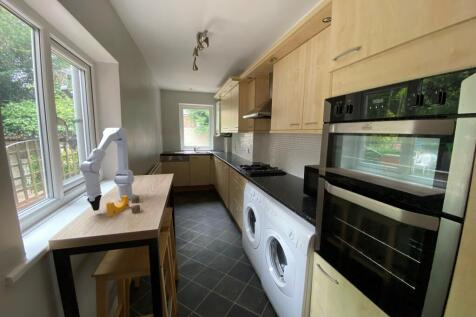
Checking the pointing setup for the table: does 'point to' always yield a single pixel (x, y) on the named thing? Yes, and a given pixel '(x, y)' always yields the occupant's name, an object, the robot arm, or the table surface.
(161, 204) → the table surface
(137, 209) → the post
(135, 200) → the post
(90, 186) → the robot arm
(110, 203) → the pipe clamp
